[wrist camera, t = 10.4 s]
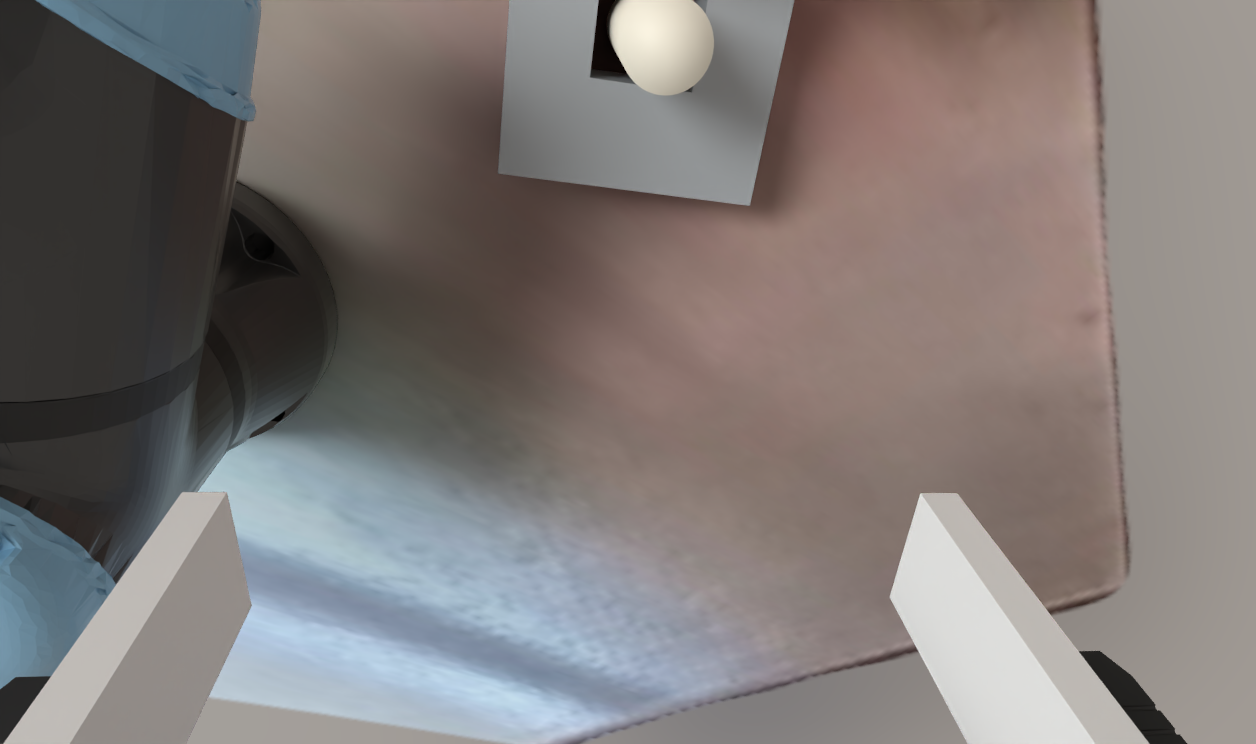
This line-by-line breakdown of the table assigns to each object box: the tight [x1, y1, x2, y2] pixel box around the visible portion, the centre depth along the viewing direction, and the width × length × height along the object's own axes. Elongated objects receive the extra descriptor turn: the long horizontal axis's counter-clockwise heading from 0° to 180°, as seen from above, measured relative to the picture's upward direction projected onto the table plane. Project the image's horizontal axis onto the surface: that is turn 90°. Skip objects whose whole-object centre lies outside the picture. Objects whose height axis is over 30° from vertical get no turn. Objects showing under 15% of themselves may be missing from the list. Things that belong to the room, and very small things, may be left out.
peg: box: [607, 0, 714, 96], centre depth 31 cm, size 3×3×12 cm
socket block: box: [498, 0, 794, 206], centre depth 34 cm, size 12×16×4 cm
